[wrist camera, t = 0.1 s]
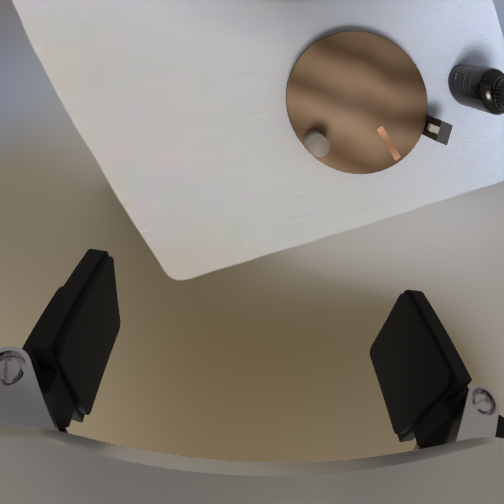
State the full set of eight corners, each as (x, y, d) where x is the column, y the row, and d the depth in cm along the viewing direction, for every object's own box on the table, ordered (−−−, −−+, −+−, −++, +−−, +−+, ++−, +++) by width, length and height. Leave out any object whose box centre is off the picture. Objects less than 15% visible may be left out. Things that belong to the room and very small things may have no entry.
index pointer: (412, 109, 39) (432, 116, 34) (431, 117, 40) (452, 125, 35) (407, 128, 41) (427, 137, 36) (426, 135, 41) (446, 145, 36)
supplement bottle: (483, 78, 35) (533, 90, 25) (470, 112, 39) (518, 131, 29) (454, 55, 34) (505, 61, 24) (441, 91, 37) (490, 104, 27)
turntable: (301, 15, 32) (310, 7, 27) (433, 61, 34) (456, 63, 29) (272, 153, 43) (276, 166, 38) (399, 182, 45) (417, 198, 40)
